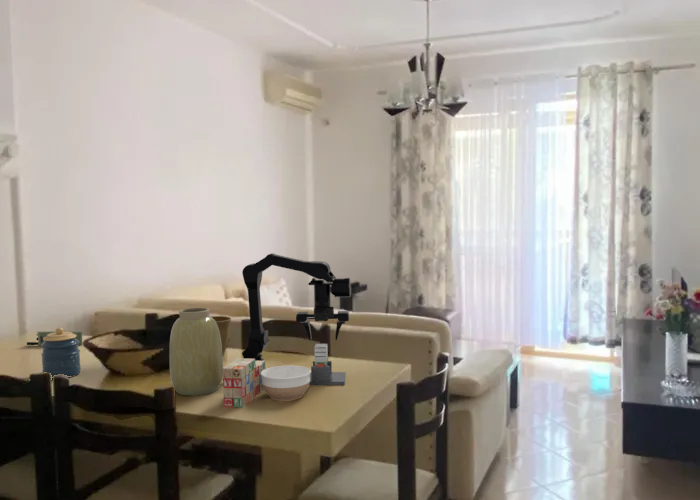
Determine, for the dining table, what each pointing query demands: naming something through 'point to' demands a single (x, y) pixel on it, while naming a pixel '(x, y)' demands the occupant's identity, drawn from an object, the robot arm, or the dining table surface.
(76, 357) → the canister
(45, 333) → the handheld radio
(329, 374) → the grey stepped stand
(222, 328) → the plant pot
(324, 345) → the column
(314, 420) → the dining table surface
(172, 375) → the vase
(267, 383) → the bowl
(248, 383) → the stack of blocks
